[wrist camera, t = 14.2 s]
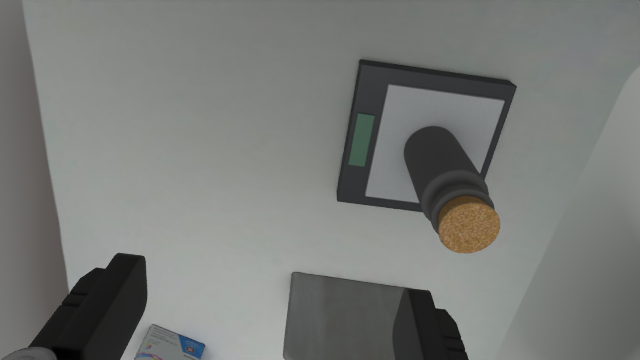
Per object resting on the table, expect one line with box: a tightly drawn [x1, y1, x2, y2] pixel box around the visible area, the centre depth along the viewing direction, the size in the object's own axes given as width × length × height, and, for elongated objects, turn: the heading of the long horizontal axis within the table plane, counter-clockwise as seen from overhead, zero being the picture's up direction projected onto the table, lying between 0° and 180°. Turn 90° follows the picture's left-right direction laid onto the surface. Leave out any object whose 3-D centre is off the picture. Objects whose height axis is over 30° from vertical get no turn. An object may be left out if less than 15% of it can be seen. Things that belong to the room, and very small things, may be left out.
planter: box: [283, 272, 405, 360], centre depth 53 cm, size 16×8×19 cm, turn 81°
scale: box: [337, 60, 517, 212], centre depth 49 cm, size 16×16×3 cm
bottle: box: [404, 126, 500, 253], centre depth 41 cm, size 6×6×15 cm
